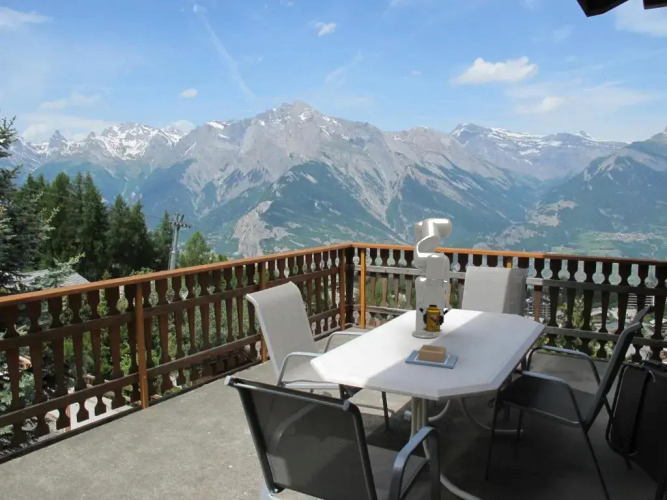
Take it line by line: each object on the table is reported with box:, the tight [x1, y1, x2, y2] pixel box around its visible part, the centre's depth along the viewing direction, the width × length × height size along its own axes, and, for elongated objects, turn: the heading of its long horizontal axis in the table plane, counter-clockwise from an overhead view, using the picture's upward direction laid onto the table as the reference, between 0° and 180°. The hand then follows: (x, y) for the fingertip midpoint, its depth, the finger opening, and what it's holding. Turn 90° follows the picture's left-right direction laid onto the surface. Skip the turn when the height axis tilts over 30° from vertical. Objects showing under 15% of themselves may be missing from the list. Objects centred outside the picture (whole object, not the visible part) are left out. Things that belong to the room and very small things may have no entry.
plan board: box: [404, 344, 459, 370], centre depth 221 cm, size 18×20×5 cm
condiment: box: [419, 305, 443, 334], centre depth 220 cm, size 7×8×12 cm
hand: (433, 323), depth 220 cm, fingers closed on condiment, 6 cm apart
